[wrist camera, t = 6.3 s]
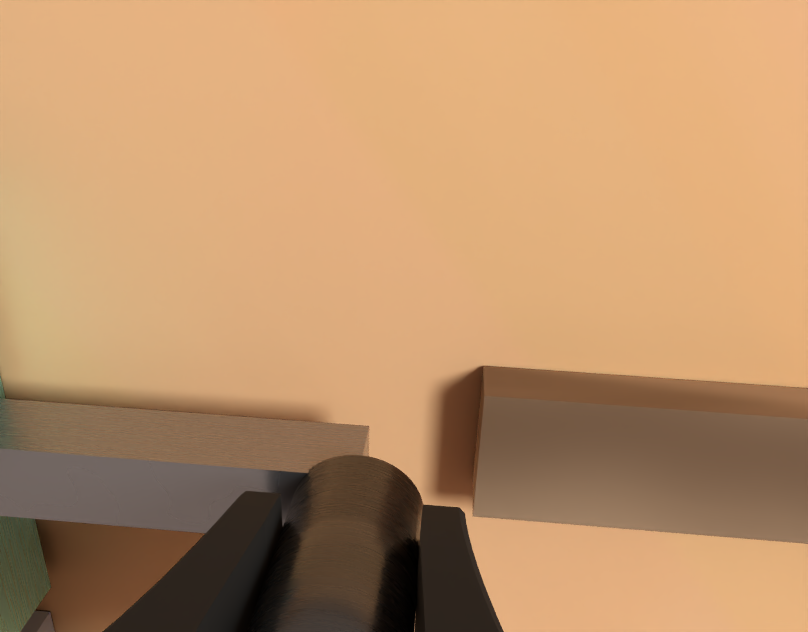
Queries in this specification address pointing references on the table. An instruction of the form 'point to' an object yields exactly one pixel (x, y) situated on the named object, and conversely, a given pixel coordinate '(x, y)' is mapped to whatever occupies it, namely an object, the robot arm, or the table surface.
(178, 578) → the robot arm
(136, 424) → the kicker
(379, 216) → the table surface
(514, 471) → the rail
